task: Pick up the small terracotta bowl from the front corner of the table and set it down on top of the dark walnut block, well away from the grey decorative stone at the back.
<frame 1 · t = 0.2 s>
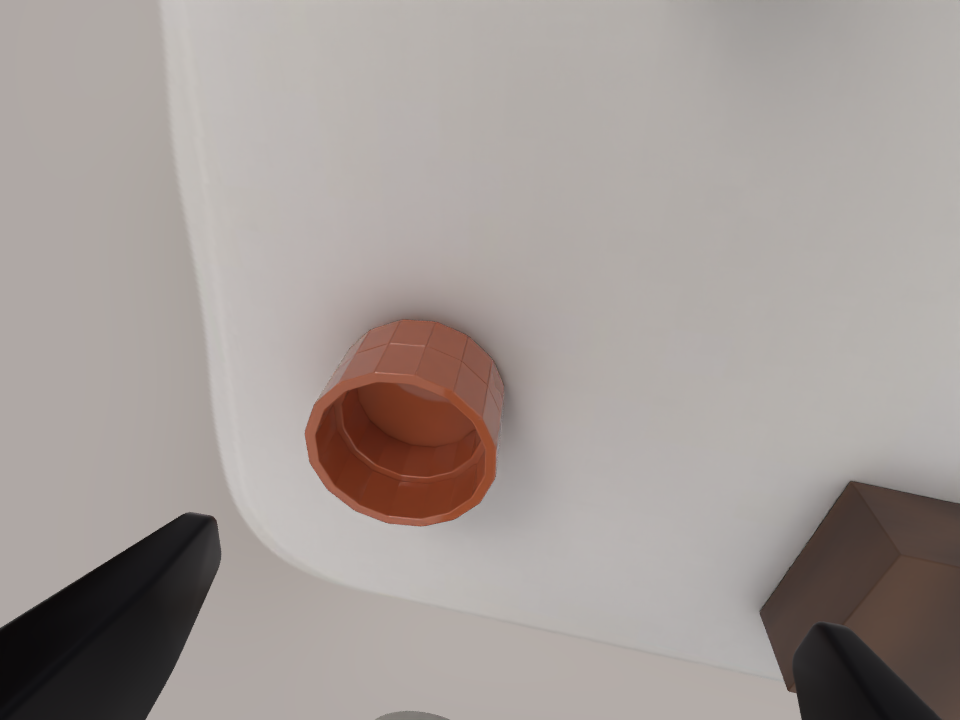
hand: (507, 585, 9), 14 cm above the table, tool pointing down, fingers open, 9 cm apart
walnut block: (895, 572, 26), on the table
small bowl: (424, 387, 24), on the table
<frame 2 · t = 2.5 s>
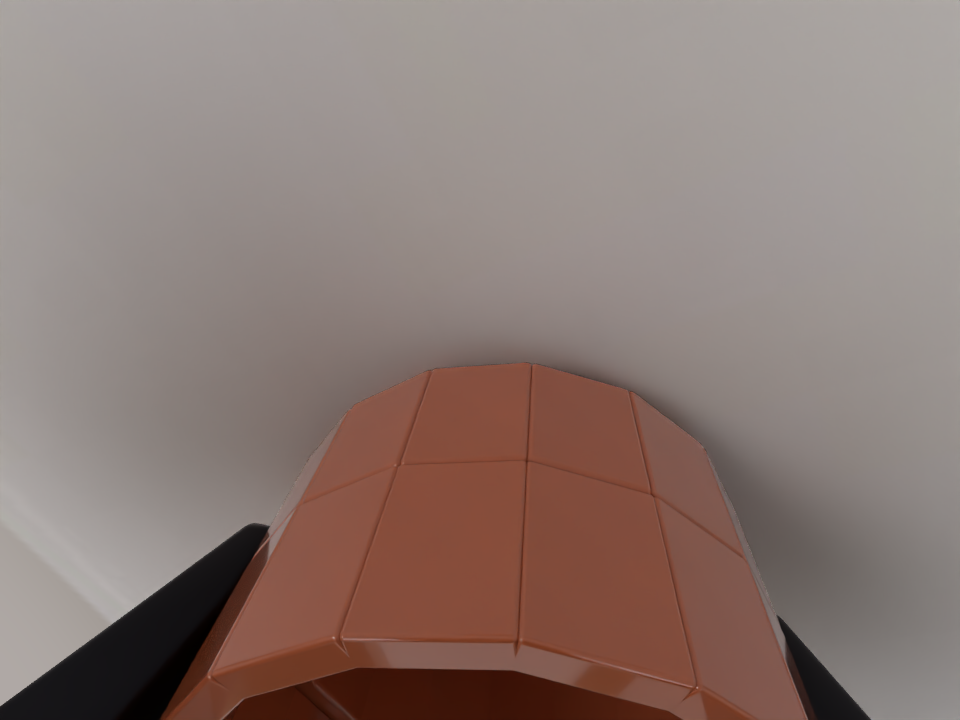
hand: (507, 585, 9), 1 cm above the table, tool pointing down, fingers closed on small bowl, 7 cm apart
small bowl: (510, 523, 10), on the table, touching gripper
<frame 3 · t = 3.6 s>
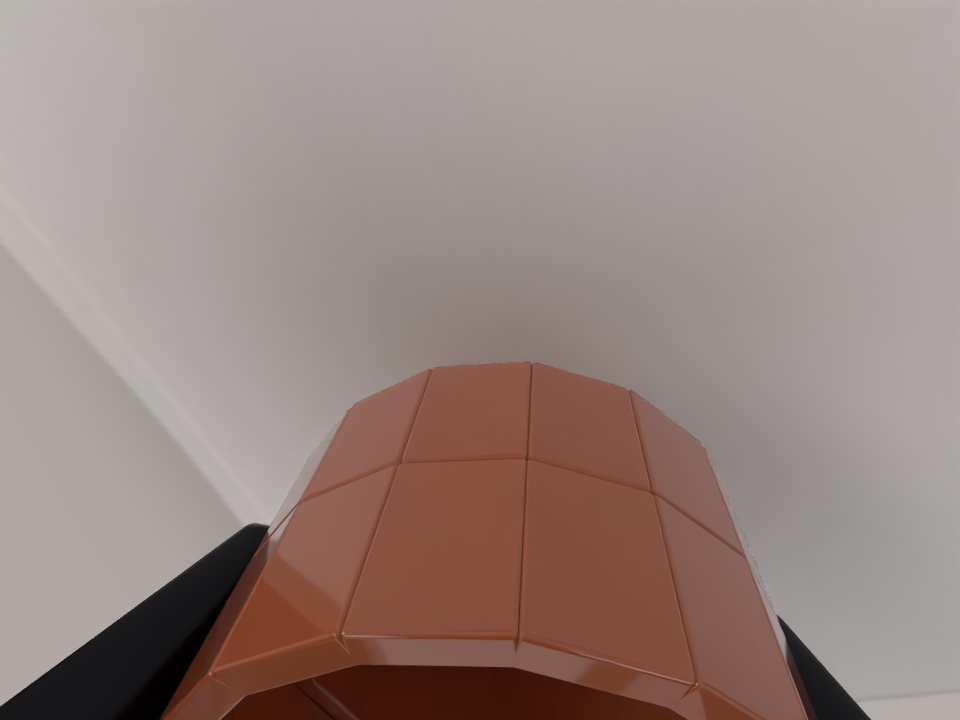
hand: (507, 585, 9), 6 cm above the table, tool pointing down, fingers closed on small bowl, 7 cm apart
small bowl: (510, 522, 10), point 4 cm above the table, touching gripper
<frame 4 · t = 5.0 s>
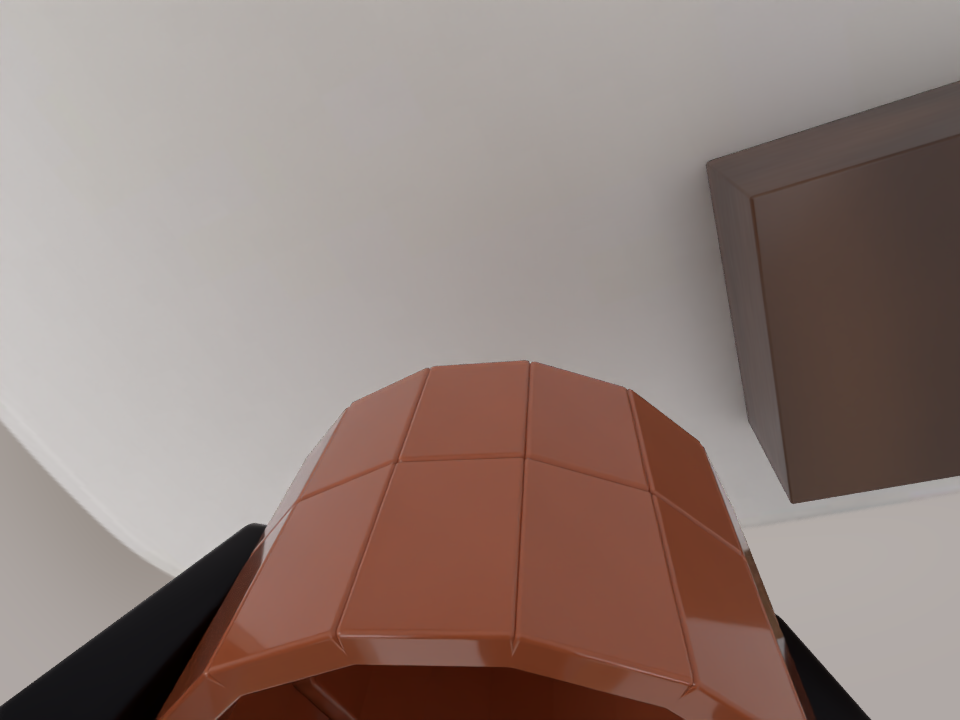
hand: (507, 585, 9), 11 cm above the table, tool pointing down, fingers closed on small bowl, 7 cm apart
walnut block: (892, 264, 16), on the table
small bowl: (509, 522, 10), point 10 cm above the table, touching gripper
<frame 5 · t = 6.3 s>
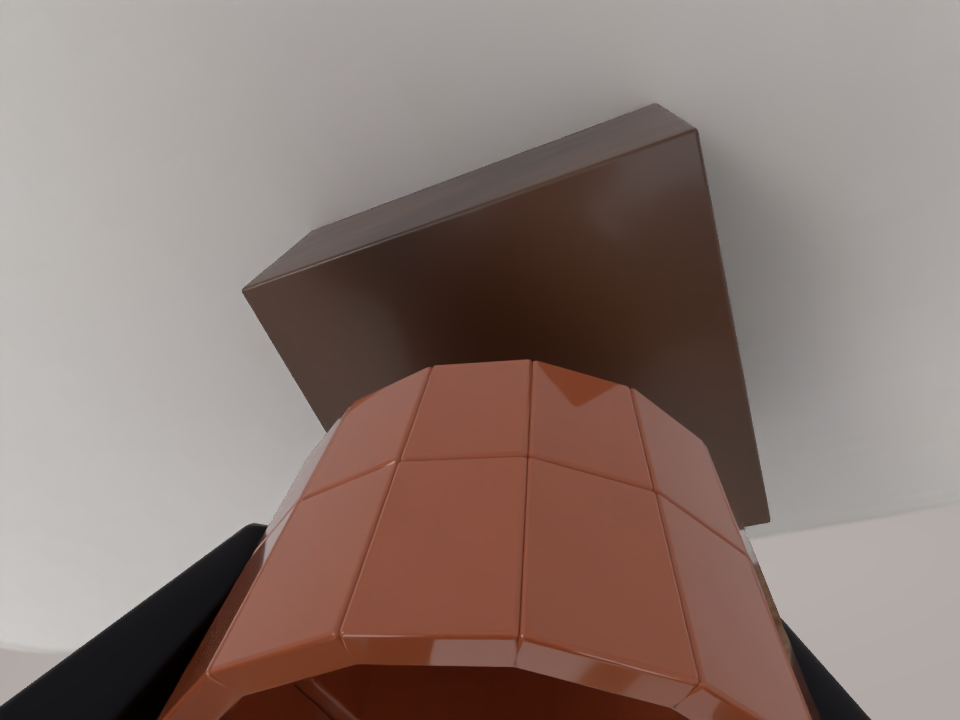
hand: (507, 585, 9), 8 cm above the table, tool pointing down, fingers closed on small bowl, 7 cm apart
walnut block: (528, 330, 16), on the table
small bowl: (510, 521, 10), point 7 cm above the table, touching gripper
when the fingers open (5 cm above the table, at t = 7.7 s): small bowl stays where it is, resting on walnut block.
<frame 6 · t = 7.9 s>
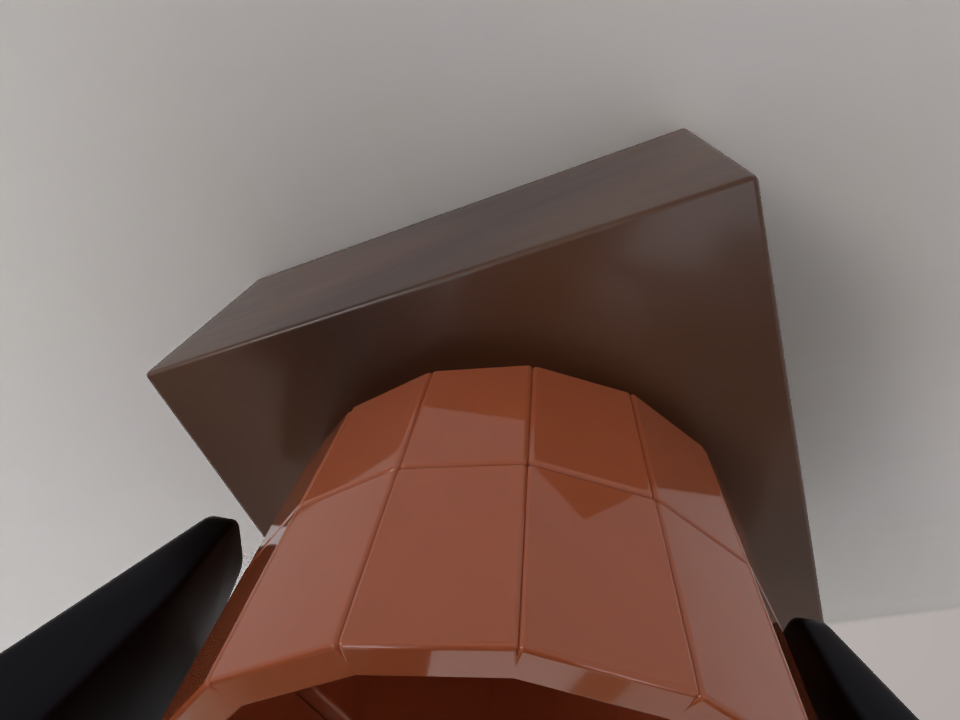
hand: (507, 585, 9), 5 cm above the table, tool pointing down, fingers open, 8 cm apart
walnut block: (522, 397, 13), on the table
small bowl: (510, 526, 10), point 4 cm above the table, touching walnut block
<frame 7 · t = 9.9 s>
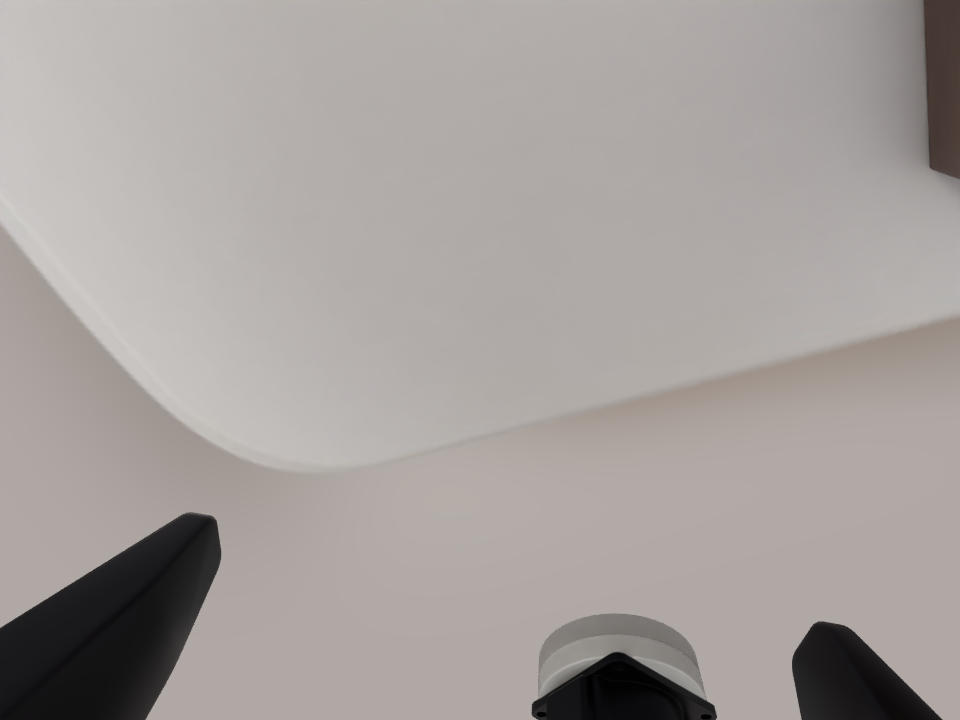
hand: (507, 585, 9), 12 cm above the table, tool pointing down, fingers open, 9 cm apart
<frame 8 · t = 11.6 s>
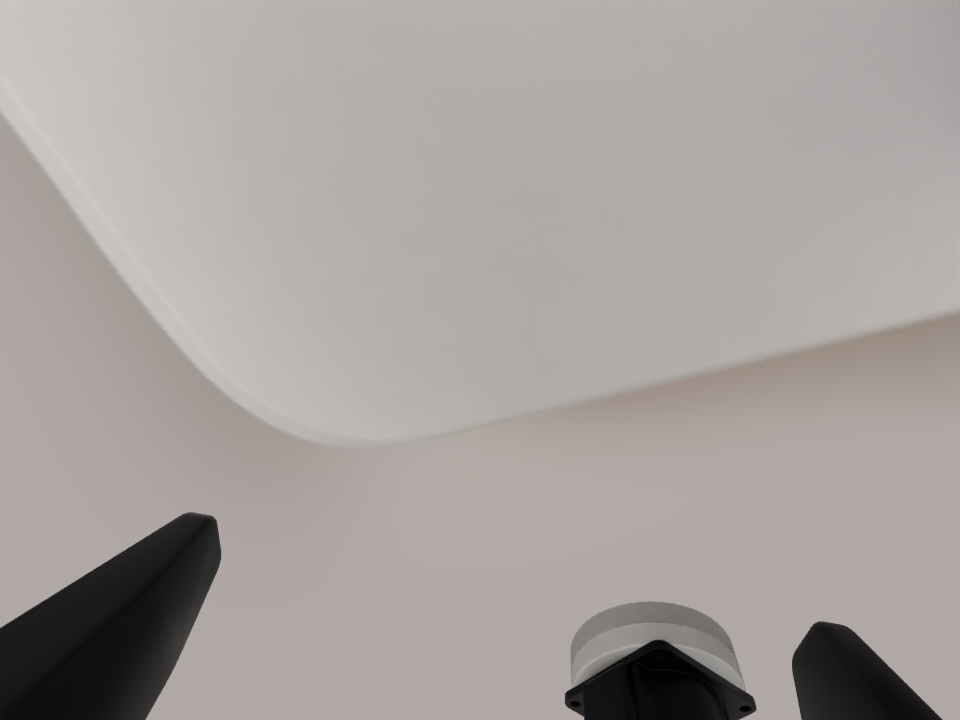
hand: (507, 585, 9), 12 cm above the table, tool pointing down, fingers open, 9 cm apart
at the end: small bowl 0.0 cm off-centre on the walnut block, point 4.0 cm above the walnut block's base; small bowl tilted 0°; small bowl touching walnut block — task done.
